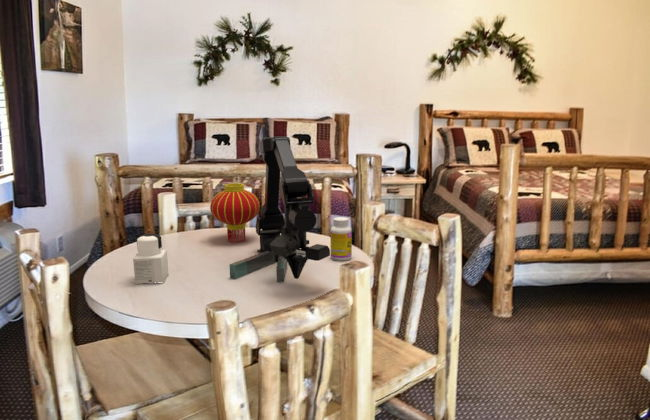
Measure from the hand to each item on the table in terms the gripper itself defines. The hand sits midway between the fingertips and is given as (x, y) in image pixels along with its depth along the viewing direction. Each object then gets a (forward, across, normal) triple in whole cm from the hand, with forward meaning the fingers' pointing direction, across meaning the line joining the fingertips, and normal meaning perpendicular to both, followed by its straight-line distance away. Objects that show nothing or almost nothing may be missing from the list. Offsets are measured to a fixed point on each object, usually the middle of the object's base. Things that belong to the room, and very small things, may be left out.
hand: (296, 278), depth 152 cm
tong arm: (+1, -10, +6) cm, 11 cm away
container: (+2, -37, -19) cm, 42 cm away
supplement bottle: (+2, -3, +27) cm, 27 cm away
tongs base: (+2, -17, +5) cm, 18 cm away
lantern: (+2, -46, +25) cm, 52 cm away
